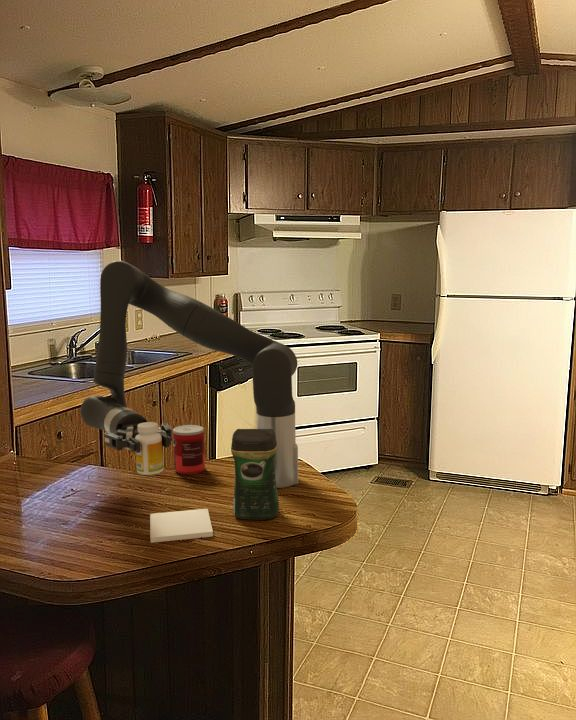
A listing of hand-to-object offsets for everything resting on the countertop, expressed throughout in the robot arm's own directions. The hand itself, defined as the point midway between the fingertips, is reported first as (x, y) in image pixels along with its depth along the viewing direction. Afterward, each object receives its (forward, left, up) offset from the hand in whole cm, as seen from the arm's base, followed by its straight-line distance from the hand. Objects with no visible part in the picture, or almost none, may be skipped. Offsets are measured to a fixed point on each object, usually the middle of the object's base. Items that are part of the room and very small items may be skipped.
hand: (153, 445), depth 130 cm
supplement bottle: (+1, -2, -6) cm, 7 cm away
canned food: (-9, -35, -18) cm, 40 cm away
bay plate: (-5, 0, -18) cm, 18 cm away
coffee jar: (-21, -3, -18) cm, 27 cm away
